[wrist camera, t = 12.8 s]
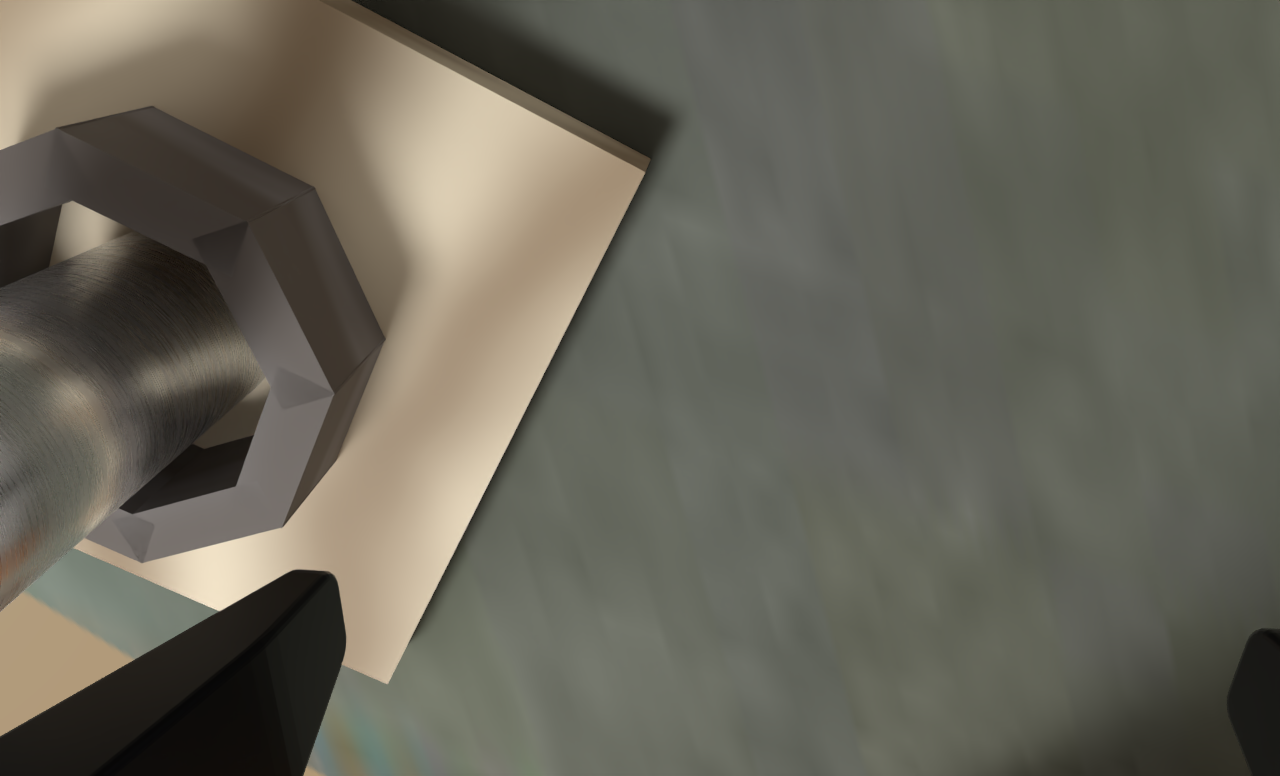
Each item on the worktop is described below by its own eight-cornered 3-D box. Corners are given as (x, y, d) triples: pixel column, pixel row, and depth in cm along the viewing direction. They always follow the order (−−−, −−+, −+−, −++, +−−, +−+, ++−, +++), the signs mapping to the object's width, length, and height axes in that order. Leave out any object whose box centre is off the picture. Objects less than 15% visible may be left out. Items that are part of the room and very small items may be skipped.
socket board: (650, 158, 20) (632, 205, 16) (404, 647, 26) (346, 770, 22) (-57, -216, 18) (-285, -271, 14) (-135, 410, 25) (-306, 496, 21)
